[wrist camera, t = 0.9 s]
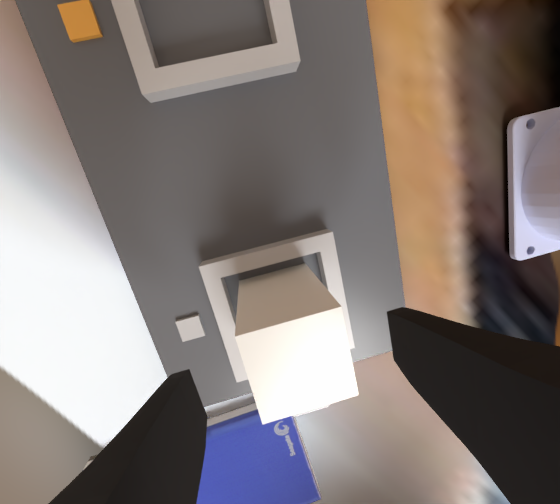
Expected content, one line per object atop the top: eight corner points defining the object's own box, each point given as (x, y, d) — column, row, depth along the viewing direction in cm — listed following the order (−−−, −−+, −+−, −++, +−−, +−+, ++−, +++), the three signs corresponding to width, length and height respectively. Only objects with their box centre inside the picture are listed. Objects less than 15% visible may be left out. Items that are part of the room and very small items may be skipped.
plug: (305, 263, 14) (341, 306, 9) (319, 328, 15) (360, 403, 10) (239, 280, 14) (234, 336, 8) (258, 346, 15) (265, 433, 9)
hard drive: (288, 404, 15) (76, 479, 15) (323, 503, 17) (137, 572, 17) (284, 385, 17) (92, 452, 16) (316, 478, 19) (146, 540, 18)
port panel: (337, -170, 11) (351, -227, 9) (405, 340, 16) (420, 355, 15) (-24, -115, 10) (-72, -169, 8) (184, 406, 16) (177, 428, 14)
